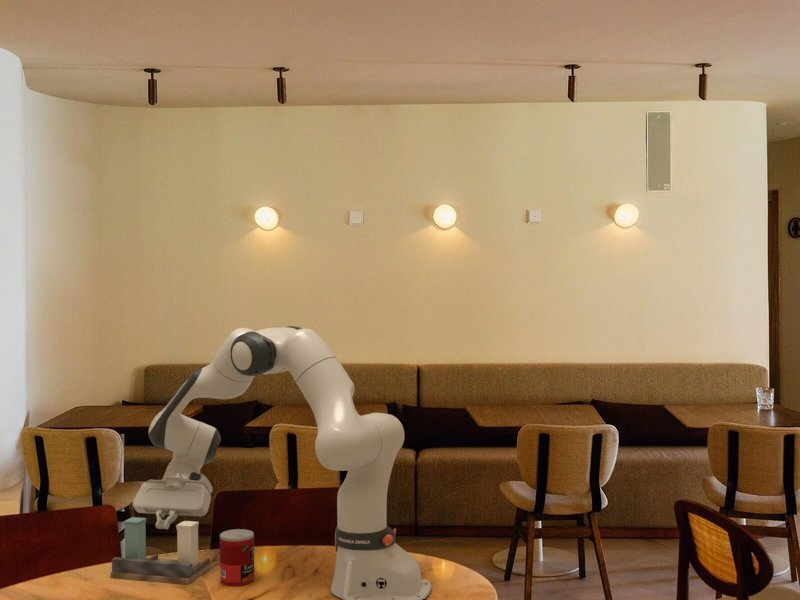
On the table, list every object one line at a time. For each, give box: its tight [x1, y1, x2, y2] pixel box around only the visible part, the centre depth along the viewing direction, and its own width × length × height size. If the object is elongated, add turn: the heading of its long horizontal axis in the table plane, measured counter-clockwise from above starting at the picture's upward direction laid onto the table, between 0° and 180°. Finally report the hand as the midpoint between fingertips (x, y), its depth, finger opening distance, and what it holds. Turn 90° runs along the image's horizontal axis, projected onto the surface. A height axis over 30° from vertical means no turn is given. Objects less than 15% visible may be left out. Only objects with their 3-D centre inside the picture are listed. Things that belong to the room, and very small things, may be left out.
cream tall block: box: [175, 520, 200, 568], centre depth 201 cm, size 4×4×11 cm
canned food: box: [219, 528, 255, 587], centre depth 197 cm, size 8×8×11 cm
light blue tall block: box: [123, 516, 147, 560], centre depth 205 cm, size 4×4×11 cm
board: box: [110, 553, 213, 585], centre depth 203 cm, size 20×12×4 cm, turn 76°
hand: (161, 527), depth 216 cm, fingers closed
